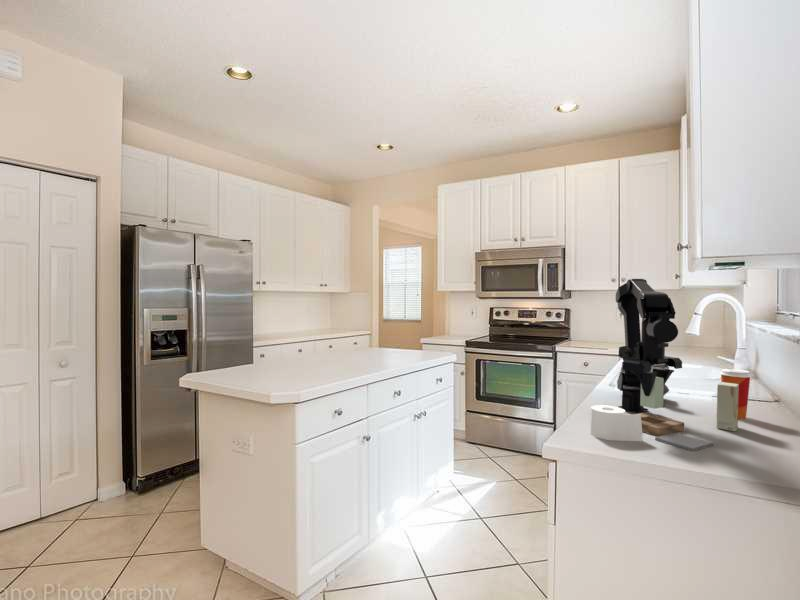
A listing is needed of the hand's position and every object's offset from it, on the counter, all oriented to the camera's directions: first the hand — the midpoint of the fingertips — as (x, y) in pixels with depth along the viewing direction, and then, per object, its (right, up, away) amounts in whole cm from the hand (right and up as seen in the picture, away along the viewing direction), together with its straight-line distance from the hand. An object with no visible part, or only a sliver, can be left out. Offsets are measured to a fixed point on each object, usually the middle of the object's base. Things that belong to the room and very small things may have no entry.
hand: (651, 395), depth 124 cm
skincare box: (+21, -9, +1) cm, 23 cm away
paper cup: (+32, -9, +12) cm, 36 cm away
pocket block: (0, -9, 0) cm, 9 cm away
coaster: (+1, -9, -12) cm, 15 cm away
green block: (0, -3, 0) cm, 3 cm away
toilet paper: (-14, -9, -9) cm, 19 cm away
